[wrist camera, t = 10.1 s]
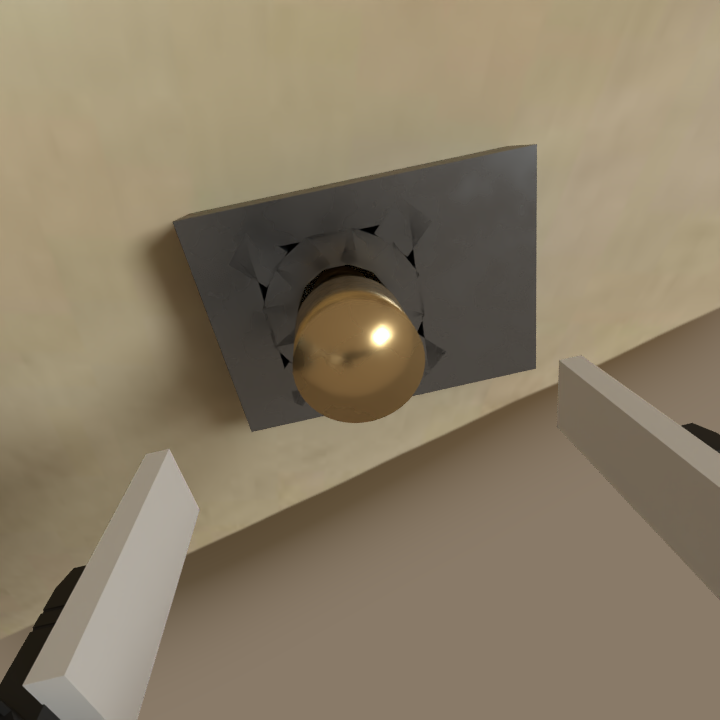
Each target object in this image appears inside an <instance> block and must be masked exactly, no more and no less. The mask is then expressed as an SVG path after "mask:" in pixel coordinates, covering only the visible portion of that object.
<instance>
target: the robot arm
mask: <svg viewBox="0 0 720 720" xmlns="http://www.w3.org/2000/svg"><path fill="white" fill-rule="evenodd" d="M557 427H558V428H559V429H560V431H561V432H562V433H563V434H564V435H565V436H566V437H567V438H568V439H569V440H570V441H571V442H572V443H573V444H574V446H575V447H577V449H578V450H579V451H580V452H581V453H582V454H583V455H584V456H585V457H586V458H587V459H588V460H589V461H590V462H591V464H592V465H593V466H594V467H595V468H596V469H597V470H598V471H599V472H600V473H601V474H602V475H603V476H604V477H605V479H606V480H607V481H608V482H609V483H610V484H611V485H612V486H613V487H614V488H615V489H616V490H617V491H618V492H619V493H620V494H621V496H622V497H624V499H625V500H626V501H627V502H628V503H629V504H630V505H631V506H632V507H633V508H634V509H635V510H636V511H637V512H638V513H639V515H640V516H641V517H642V518H643V519H644V520H645V521H646V522H647V523H648V524H649V525H650V526H651V527H652V528H653V530H654V531H655V532H656V533H657V534H658V535H659V536H660V537H661V538H662V539H663V540H664V541H665V542H666V543H667V544H668V546H669V547H671V549H672V550H673V551H674V552H675V553H676V554H677V555H678V556H679V557H680V558H681V559H682V560H683V561H684V563H685V564H686V565H687V566H688V567H689V568H690V569H691V570H692V571H693V572H694V573H695V574H696V575H697V576H698V577H699V578H700V579H701V580H702V582H703V583H704V584H705V585H706V586H707V587H708V588H709V589H710V590H711V591H712V592H713V593H714V594H715V595H716V597H717V598H718V599H719V600H720V435H719V434H718V433H716V432H713V431H711V430H708V429H706V428H703V427H701V426H698V425H696V424H693V423H690V424H686V425H682V426H680V425H679V424H677V423H676V422H675V421H673V420H672V419H670V418H669V417H668V416H666V415H665V414H663V413H662V412H660V411H659V410H658V409H656V408H655V407H653V406H652V405H651V404H649V403H648V402H646V401H645V400H644V399H642V398H641V397H639V396H638V395H636V394H635V393H634V392H632V391H631V390H630V389H628V388H627V387H625V386H624V385H622V384H621V383H620V382H618V381H617V380H615V379H614V378H613V377H611V376H610V375H608V374H607V373H606V372H604V371H603V370H601V369H600V368H599V367H597V366H596V365H594V364H593V363H592V362H590V361H589V360H587V359H586V358H585V357H583V356H582V355H580V356H576V357H571V358H567V359H562V360H559V380H558V411H557ZM199 510H200V509H199V507H198V505H197V503H196V501H195V499H194V497H193V495H192V493H191V491H190V489H189V487H188V485H187V483H186V481H185V479H184V477H183V475H182V473H181V471H180V469H179V467H178V465H177V463H176V461H175V459H174V457H173V455H172V453H171V451H170V449H166V450H161V451H157V452H153V453H148V454H146V455H145V457H144V459H143V460H142V462H141V464H140V466H139V468H138V470H137V472H136V474H135V475H134V477H133V479H132V481H131V483H130V485H129V487H128V488H127V490H126V492H125V494H124V496H123V498H122V500H121V502H120V503H119V505H118V507H117V509H116V511H115V513H114V515H113V517H112V518H111V520H110V522H109V524H108V526H107V528H106V530H105V532H104V533H103V535H102V537H101V539H100V541H99V543H98V545H97V547H96V548H95V550H94V552H93V554H92V556H91V558H90V560H89V562H88V563H87V565H86V566H81V567H77V568H74V569H73V570H72V571H71V572H70V573H69V574H68V575H67V576H66V577H65V579H64V580H63V581H62V582H61V583H60V584H59V585H58V586H57V587H56V588H55V590H54V592H53V594H52V595H51V597H50V599H49V600H48V602H47V604H46V606H45V607H44V609H43V611H44V612H43V614H40V616H39V618H38V620H37V621H36V623H35V625H34V626H33V631H32V632H30V633H29V635H28V637H27V639H26V640H25V642H24V644H23V646H22V647H21V649H20V651H19V652H18V654H17V656H16V658H15V659H14V661H13V663H12V665H11V667H10V668H9V670H8V671H7V673H6V675H5V677H4V679H3V680H2V682H1V684H0V720H137V718H138V715H139V712H140V708H141V705H142V702H143V698H144V695H145V691H146V688H147V685H148V681H149V678H150V675H151V671H152V668H153V665H154V661H155V658H156V654H157V651H158V648H159V644H160V641H161V638H162V634H163V631H164V628H165V624H166V621H167V617H168V614H169V611H170V607H171V604H172V601H173V597H174V594H175V590H176V587H177V584H178V580H179V577H180V573H181V570H182V567H183V564H184V560H185V557H186V553H187V550H188V547H189V543H190V540H191V537H192V533H193V530H194V527H195V523H196V520H197V516H198V513H199Z"/></svg>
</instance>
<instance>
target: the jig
mask: <svg viewBox="0 0 720 720" xmlns="http://www.w3.org/2000/svg"><path fill="white" fill-rule="evenodd" d="M536 203H537V144H533V145H516V146H506V147H502V148H497V149H492V150H487V151H483V152H478V153H473V154H469V155H464V156H459V157H454V158H450V159H445V160H440V161H436V162H431V163H426V164H422V165H417V166H412V167H407V168H403V169H398V170H393V171H389V172H384V173H379V174H374V175H370V176H365V177H360V178H356V179H351V180H346V181H342V182H337V183H332V184H327V185H323V186H318V187H313V188H309V189H304V190H299V191H294V192H290V193H285V194H280V195H276V196H271V197H266V198H262V199H257V200H252V201H247V202H243V203H238V204H233V205H229V206H224V207H219V208H214V209H210V210H205V211H200V212H196V213H191V214H188V215H186V216H184V217H182V218H179V219H177V220H175V221H173V224H174V227H175V230H176V232H177V235H178V238H179V240H180V243H181V245H182V248H183V251H184V253H185V256H186V259H187V261H188V264H189V267H190V269H191V272H192V275H193V277H194V280H195V283H196V285H197V288H198V291H199V293H200V296H201V299H202V301H203V304H204V307H205V309H206V312H207V314H208V317H209V320H210V322H211V325H212V328H213V330H214V333H215V336H216V338H217V341H218V344H219V346H220V349H221V352H222V354H223V357H224V360H225V362H226V365H227V368H228V370H229V373H230V375H231V378H232V381H233V383H234V386H235V389H236V391H237V394H238V397H239V399H240V402H241V405H242V407H243V410H244V413H245V415H246V418H247V421H248V423H249V426H250V429H251V431H252V432H253V431H258V430H262V429H267V428H271V427H276V426H280V425H285V424H289V423H294V422H298V421H303V420H307V419H312V418H316V417H321V416H324V415H322V414H320V413H319V412H317V411H316V410H314V409H313V408H312V407H311V406H310V405H309V404H308V403H307V402H306V401H305V400H304V399H303V397H302V396H301V394H300V392H299V391H298V389H297V386H296V384H295V381H294V376H293V352H294V338H295V324H296V318H297V314H298V312H299V309H300V307H301V305H302V303H301V298H302V294H303V291H304V288H305V286H306V285H307V284H308V283H309V282H311V281H312V280H313V279H314V278H315V277H316V276H317V275H318V274H319V273H320V272H322V271H323V270H324V269H329V268H334V267H338V266H343V265H347V264H350V265H353V266H356V267H359V268H362V269H365V270H368V271H371V272H373V273H374V274H375V275H376V276H377V277H378V279H379V280H380V281H381V285H383V286H384V287H386V288H387V289H388V290H389V291H390V292H391V293H392V294H393V295H394V296H395V298H396V299H397V300H398V302H399V304H400V305H401V307H402V308H403V310H404V312H405V313H406V315H407V316H408V318H409V320H410V321H411V323H412V324H413V326H414V327H415V329H416V331H417V332H418V334H419V336H420V338H421V341H422V343H423V347H424V352H425V368H424V373H423V377H422V379H421V382H420V384H419V386H418V388H417V390H416V391H415V393H414V394H413V395H412V396H415V395H419V394H424V393H428V392H433V391H437V390H442V389H446V388H451V387H455V386H460V385H464V384H469V383H473V382H478V381H482V380H486V379H491V378H495V377H500V376H504V375H509V374H513V373H518V372H522V371H527V370H531V369H536ZM269 282H270V283H269Z"/></svg>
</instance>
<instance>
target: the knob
mask: <svg viewBox="0 0 720 720" xmlns="http://www.w3.org/2000/svg"><path fill="white" fill-rule="evenodd" d="M424 368H425V352H424V347H423V343H422V341H421V338H420V336H419V334H418V332H417V331H416V329H415V327H414V326H413V324H412V323H411V321H410V320H409V318H408V316H407V315H406V313H405V312H404V310H403V308H402V307H401V305H400V304H399V302H398V300H397V299H396V298H395V296H394V295H393V294H392V293H391V292H390V291H389V290H388V289H387V288H386V287H384V286H383V285H381V284H380V283H378V282H376V281H374V280H371V279H368V278H365V277H364V275H363V274H362V273H360V272H359V271H358V270H356V269H354V268H351V267H347V266H338V267H334V268H331V269H328V270H327V271H325V272H324V273H322V274H321V275H320V276H319V278H318V279H317V281H316V282H315V285H314V288H313V291H312V292H311V293H310V294H309V295H308V296H307V298H306V299H305V300H304V302H303V303H302V305H301V307H300V309H299V312H298V314H297V318H296V324H295V338H294V352H293V376H294V381H295V384H296V386H297V389H298V391H299V392H300V394H301V396H302V397H303V399H304V400H305V401H306V402H307V403H308V404H309V405H310V406H311V407H312V408H313V409H314V410H316V411H317V412H319V413H320V414H322V415H324V416H326V417H328V418H331V419H334V420H337V421H342V422H348V423H362V422H369V421H373V420H377V419H380V418H383V417H385V416H387V415H389V414H391V413H393V412H395V411H396V410H398V409H399V408H400V407H402V406H403V405H404V404H405V403H406V402H407V401H408V400H409V399H410V398H411V397H412V395H413V394H414V393H415V391H416V390H417V388H418V386H419V384H420V382H421V379H422V377H423V373H424Z"/></svg>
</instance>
